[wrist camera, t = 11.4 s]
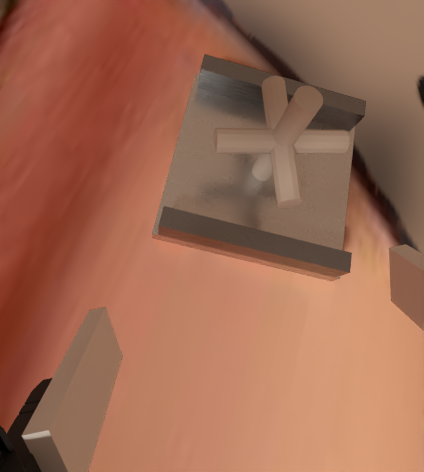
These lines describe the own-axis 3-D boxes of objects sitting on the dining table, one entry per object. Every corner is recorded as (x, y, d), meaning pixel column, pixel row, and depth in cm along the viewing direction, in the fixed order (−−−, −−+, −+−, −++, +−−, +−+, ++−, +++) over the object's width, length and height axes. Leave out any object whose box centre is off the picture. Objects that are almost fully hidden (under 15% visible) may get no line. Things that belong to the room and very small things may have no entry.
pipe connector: (210, 227, 29) (236, 173, 19) (202, 120, 31) (221, 26, 22) (323, 223, 30) (400, 172, 21) (307, 122, 33) (368, 36, 23)
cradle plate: (152, 238, 29) (151, 224, 25) (194, 84, 34) (198, 52, 30) (331, 281, 31) (355, 274, 27) (347, 127, 35) (371, 102, 31)
